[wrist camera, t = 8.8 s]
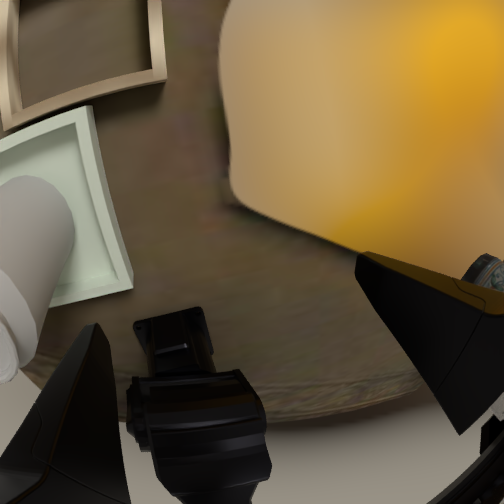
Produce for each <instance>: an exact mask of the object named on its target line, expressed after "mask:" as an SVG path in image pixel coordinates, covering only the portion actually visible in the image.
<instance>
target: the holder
mask: <svg viewBox="0 0 504 504" xmlns="http://www.w3.org/2000/svg"><path fill="white" fill-rule="evenodd" d="M147 3H148V22H149V37H150V50H151V61H152V69H150V70H145V71H140V72H135V73H131V74H127V75H122V76H118V77H115V78H111V79H107V80H103V81H100V82H96V83H93V84H90V85H86V86H83V87H80V88H77V89H74V90H71V91H68V92H65V93H63V94H60V95H57V96H55V97H52V98H49V99H47V100H44V101H42V102H39V103H37V104H35V105H32V106H30V107H28V108H26V109H23V107H22V100H21V90H20V79H19V62H18V23H19V7H20V0H0V109H1V116H2V123H3V129H4V131H7V130H10V129H14V128H17V127H19V126H21V125H23V124H26V123H28V122H30V121H33V120H35V119H37V118H40V117H42V116H45V115H47V114H50V113H53V112H55V111H58V110H61V109H63V108H66V107H69V106H72V105H75V104H78V103H81V102H84V101H87V100H91V99H94V98H97V97H101V96H104V95H108V94H112V93H116V92H119V91H124V90H128V89H132V88H136V87H141V86H146V85H151V84H156V83H161V82H166V81H167V70H166V60H165V49H164V37H163V23H162V7H161V0H147Z"/></svg>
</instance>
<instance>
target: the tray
mask: <svg viewBox="0 0 504 504" xmlns="http://www.w3.org/2000/svg"><path fill="white" fill-rule="evenodd" d="M23 175H30V176H35V177H40V178H42V179H44V180H45V181H47V182H49V183H50V184H52V185H54V186H55V187H56V189H57V190H58V191H59V192H60V193H61V194H62V195H63V197H64V198H65V200H66V202H67V204H68V206H69V208H70V210H71V212H72V217H73V222H74V228H75V232H74V241H73V246H72V248H71V251H70V253H69V255H68V257H67V260H66V262H65V265H64V267H63V270H62V272H61V275H60V277H59V280H58V282H57V285H56V288H55V291H54V293H53V296H52V299H51V302H50V305H49V308H51V307H55V306H59V305H64V304H68V303H72V302H77V301H81V300H85V299H89V298H93V297H98V296H102V295H106V294H110V293H115V292H119V291H123V290H127V289H131V288H133V274H134V272H133V270H132V267H131V264H130V261H129V258H128V255H127V251H126V248H125V245H124V242H123V239H122V235H121V232H120V229H119V225H118V222H117V218H116V215H115V211H114V207H113V204H112V200H111V196H110V192H109V188H108V184H107V180H106V175H105V171H104V166H103V162H102V157H101V152H100V147H99V142H98V137H97V131H96V125H95V119H94V113H93V106H83V107H80V108H77V109H74V110H71V111H68V112H65V113H62V114H59V115H57V116H54V117H51V118H49V119H46V120H44V121H41V122H39V123H36V124H34V125H32V126H29V127H27V128H25V129H22V130H20V131H18V132H16V133H14V134H11V135H9V136H7V137H5V138H3V139H1V140H0V186H1V185H3V184H4V183H6V182H7V181H9V180H10V179H12V178H14V177H18V176H23Z"/></svg>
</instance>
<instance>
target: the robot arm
mask: <svg viewBox="0 0 504 504" xmlns="http://www.w3.org/2000/svg"><path fill="white" fill-rule="evenodd" d="M355 277H356V280H357V281H358V283H359V285H360V286H361V288H362V290H363V291H364V293H365V294H366V296H367V298H368V299H369V301H370V303H371V305H372V306H373V308H374V309H375V311H376V312H377V314H378V315H379V316H380V318H381V319H382V320H383V322H384V323H385V325H386V326H387V327H388V329H389V330H390V331H391V333H392V334H393V336H394V337H395V338H396V340H397V341H398V343H399V344H400V346H401V347H402V348H403V350H404V351H405V353H406V354H407V356H408V357H409V358H410V360H411V361H412V363H413V364H414V366H415V367H416V369H417V370H418V372H419V373H420V375H421V376H422V378H423V379H424V381H425V382H426V383H427V385H428V387H429V388H430V390H431V391H432V393H433V394H434V396H435V398H436V399H437V401H438V402H439V404H440V406H441V407H442V409H443V410H444V412H445V414H446V415H447V417H448V419H449V420H450V422H451V424H452V425H453V427H454V428H455V430H456V432H457V433H458V435H459V436H460V435H461V434H462V433H464V432H465V431H466V430H467V429H468V428H469V427H470V426H471V425H472V424H473V423H474V422H475V421H476V420H478V418H480V416H482V415H483V413H485V412H486V410H488V408H489V409H490V410H491V411H492V412H493V415H492V416H491V417H490V418H489V420H488V421H487V422H486V423H485V424H484V425H483V426H482V427H481V442H480V457H479V458H478V459H477V460H476V461H475V462H474V463H473V464H472V465H471V466H470V467H469V468H468V469H467V470H465V471H464V472H463V473H462V474H461V475H460V476H459V477H458V478H457V479H456V480H455V481H454V482H452V483H451V484H450V485H449V486H448V487H447V488H445V489H444V490H443V491H442V492H441V493H439V494H438V495H437V496H436V497H435V498H433V499H432V500H431V501H429V502H428V503H427V504H504V292H501V291H497V290H494V289H490V288H486V287H482V286H479V285H475V284H472V283H468V282H465V281H462V280H459V279H456V278H453V277H452V278H451V277H450V276H447V275H444V274H440V273H437V272H434V271H431V270H428V269H425V268H422V267H418V266H415V265H412V264H409V263H405V262H402V261H399V260H396V259H393V258H389V257H386V256H383V255H379V254H376V253H372V252H369V251H366V252H363V253H360V254H358V256H357V259H356V266H355ZM196 312H199V313H196ZM137 326H141V327H137ZM133 329H134V331H135V333H136V335H137V337H138V339H139V341H140V343H141V345H142V347H143V349H144V351H145V353H146V355H147V361H148V371H149V377H142V378H139V376H135V377H132V385H130V388H129V389H128V390H126V394H127V419H126V427H127V432H128V433H130V434H131V435H132V436H133V437H134V438H135V440H136V442H137V443H139V447H140V450H141V452H151V454H152V459H153V464H154V468H155V472H156V476H157V478H158V480H159V481H160V482H161V483H162V484H163V486H164V487H165V488H166V489H167V490H168V491H169V493H170V494H171V495H172V496H175V497H176V498H177V499H179V500H180V501H181V502H182V503H183V504H252V502H251V499H252V496H253V494H254V492H255V489H256V487H257V485H258V483H259V482H262V481H266V480H268V479H269V477H270V473H271V469H272V463H271V460H270V457H269V454H268V450H267V447H266V443H265V437H264V435H265V432H266V415H265V411H264V407H263V404H262V402H261V400H260V398H259V396H258V395H257V393H256V392H255V391H254V389H253V388H252V386H251V385H250V384H249V382H248V381H247V379H246V378H245V377H244V375H243V374H242V372H241V371H240V369H235V370H232V371H227V372H218V373H217V372H216V369H215V366H214V363H213V360H212V357H211V355H212V354H213V353H214V351H213V347H212V343H211V340H210V336H209V332H208V328H207V324H206V320H205V316H204V312H203V309H202V308H201V307H193V308H189V309H185V310H181V311H177V312H173V313H169V314H165V315H161V316H156V317H152V318H148V319H144V320H139V321H136V322H134V324H133ZM0 504H131V500H130V495H129V491H128V486H127V480H126V474H125V469H124V463H123V456H122V449H121V440H120V432H119V422H118V411H117V396H116V385H115V379H114V372H113V365H112V358H111V350H110V344H109V341H108V339H107V337H106V336H105V334H104V332H103V330H102V328H101V327H100V325H99V324H98V323H92V324H87V325H86V326H85V327H84V328H83V330H82V331H81V332H80V334H79V335H78V337H77V338H76V340H75V341H74V342H73V344H72V345H71V347H70V348H69V350H68V351H67V353H66V354H65V355H64V357H63V358H62V360H61V361H60V363H59V364H58V366H57V368H56V369H55V371H54V372H53V374H52V375H51V377H50V378H49V380H48V381H47V383H46V385H45V386H44V388H43V389H42V391H41V393H40V394H39V396H38V398H37V399H36V401H35V403H34V404H33V406H32V408H31V409H30V411H29V413H28V415H27V416H26V418H25V419H24V421H23V423H22V424H21V426H20V427H19V429H18V431H17V432H16V434H15V435H14V437H13V438H12V440H11V441H10V443H9V445H8V446H7V447H6V449H5V451H4V452H3V454H2V455H1V457H0Z"/></svg>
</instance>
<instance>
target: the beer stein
mask: <svg viewBox="0 0 504 504" xmlns="http://www.w3.org/2000/svg"><path fill="white" fill-rule="evenodd" d="M461 280H462V281H465V282H468V283H472V284H475V285H479V286H482V287H486V288H490V289H494V290H497V291H501V292H504V264H503V262H502V261H501V260H500V259H498V258H497V257H494V256H491V255H489V254H487V253H486V254H483V255H481V256H480V257H479V258H478V259H477V260H476V261H475V262H474V263H473V264H472V265H471V266H470V267H469V269H468V270H467V272H466V273H465V274H464V276H463V277H462V279H461Z"/></svg>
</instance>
